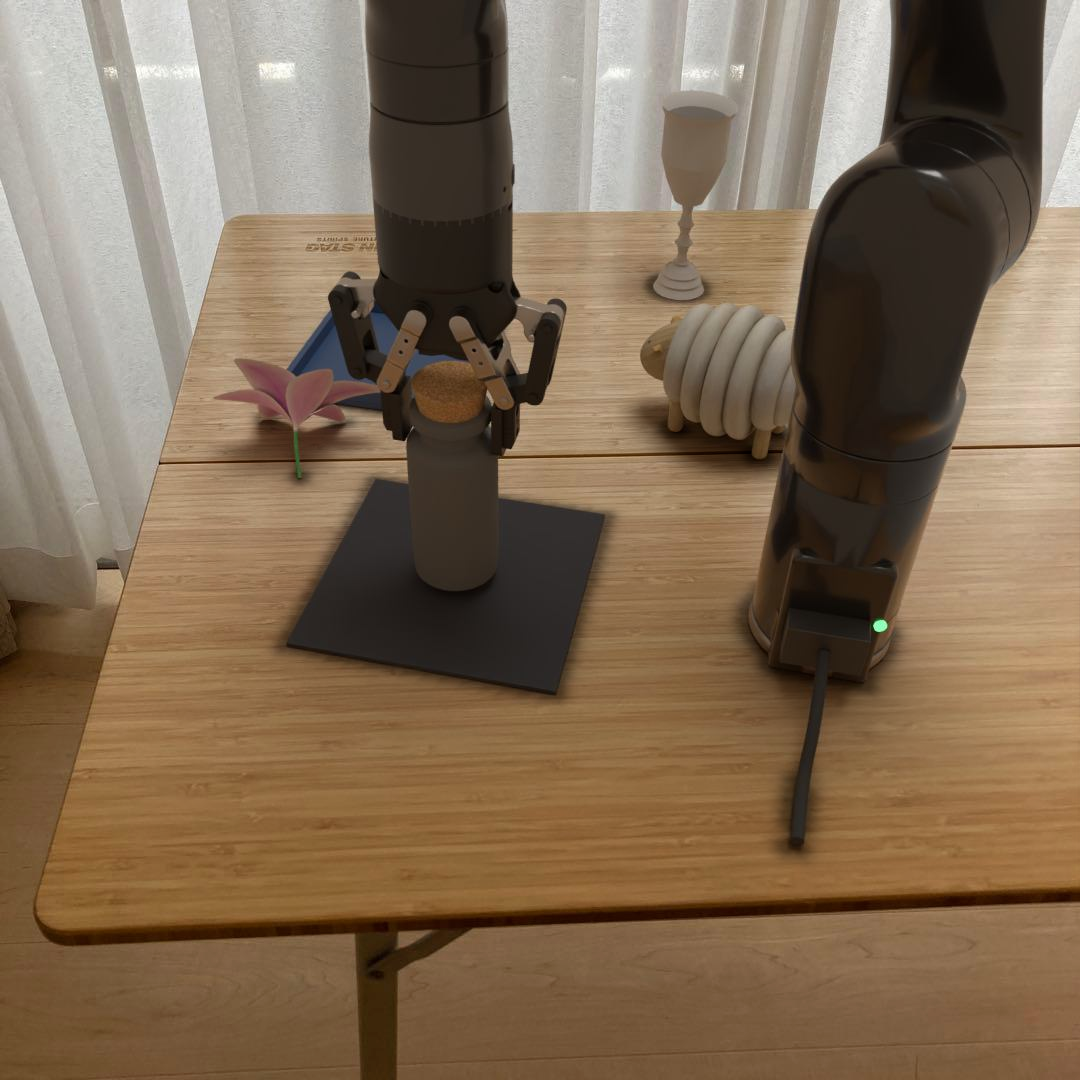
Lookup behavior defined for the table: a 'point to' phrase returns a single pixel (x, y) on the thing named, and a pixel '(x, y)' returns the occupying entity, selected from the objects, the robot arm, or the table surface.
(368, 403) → the tray
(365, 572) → the mat
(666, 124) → the chalice
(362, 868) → the table surface
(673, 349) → the toy sheep
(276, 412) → the lily
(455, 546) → the bottle
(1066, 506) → the table surface
